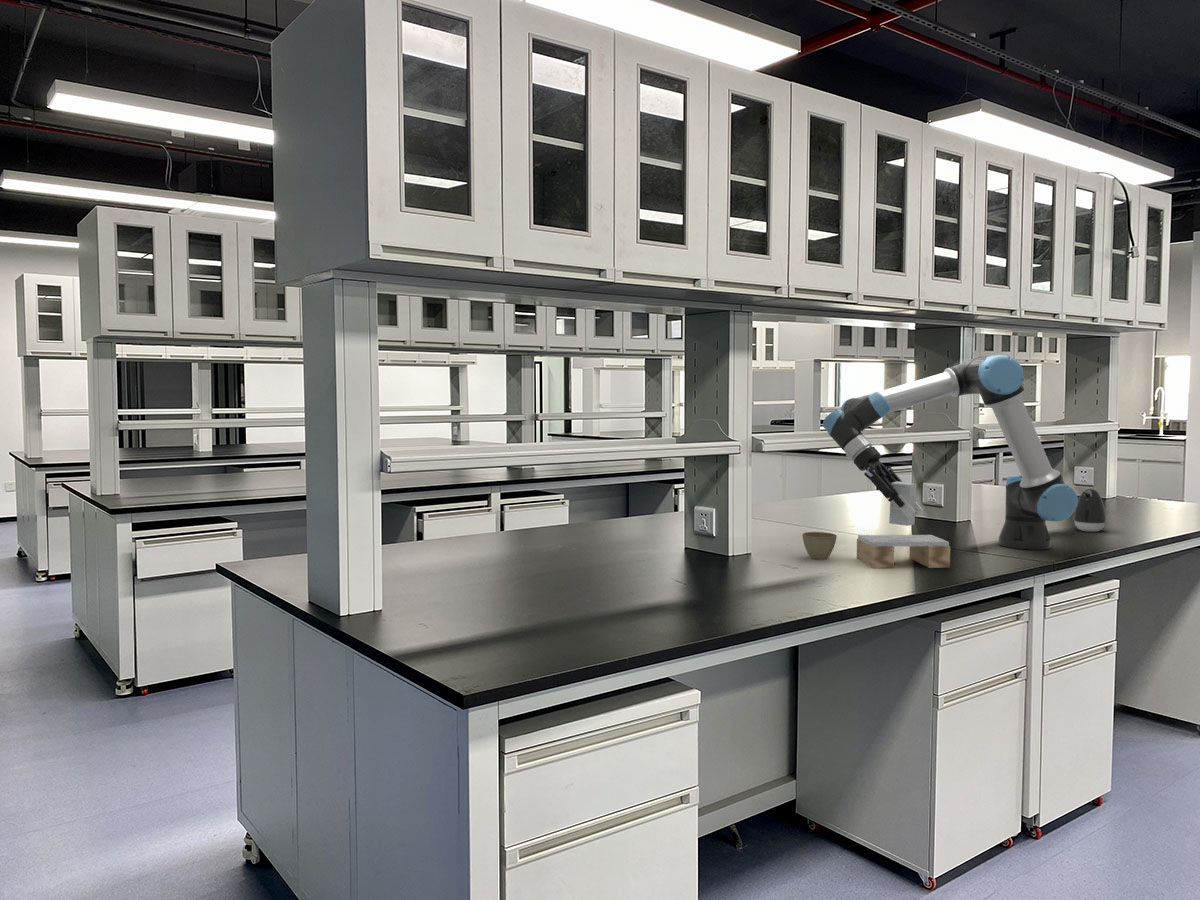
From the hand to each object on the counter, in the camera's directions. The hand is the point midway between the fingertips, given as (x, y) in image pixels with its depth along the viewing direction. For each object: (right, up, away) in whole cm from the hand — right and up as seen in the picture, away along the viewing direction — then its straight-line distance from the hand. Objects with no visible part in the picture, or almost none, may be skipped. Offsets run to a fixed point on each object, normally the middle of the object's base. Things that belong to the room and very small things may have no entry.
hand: (915, 513), depth 238 cm
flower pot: (-25, -14, +11) cm, 31 cm away
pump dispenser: (+85, -11, +60) cm, 105 cm away
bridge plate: (-3, -9, +3) cm, 10 cm away
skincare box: (-3, -3, +3) cm, 5 cm away
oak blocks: (-3, -15, +4) cm, 15 cm away
